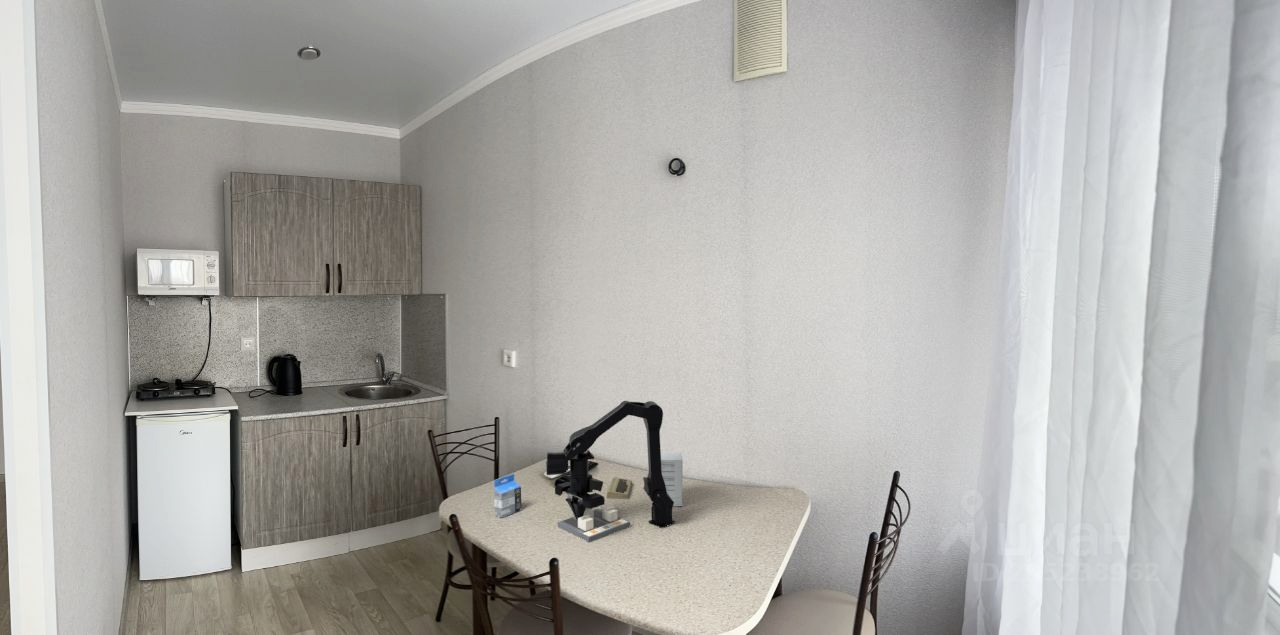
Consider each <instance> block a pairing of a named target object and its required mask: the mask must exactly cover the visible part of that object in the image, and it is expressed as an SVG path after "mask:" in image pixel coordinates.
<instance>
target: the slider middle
mask: <svg viewBox="0 0 1280 635" xmlns="http://www.w3.org/2000/svg"><path fill="white" fill-rule="evenodd" d="M594 510H595V509H594V508H592V509H589V508H586V509H585V512H584V515H583V516H585V515H588V514H589V515H590V518H592V519H594Z"/></svg>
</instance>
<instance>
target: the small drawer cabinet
mask: <svg viewBox="0 0 1280 635" xmlns="http://www.w3.org/2000/svg"><path fill="white" fill-rule="evenodd" d="M661 469H662V476H663V479H664V483H665V486H666V491H667V493H668V495H669V496H670V497H671V499H672V500H673V502H674V504H673V506H682V507H683V478H684V477H683V476H684V475H683V457H682V453H681V452H661Z"/></svg>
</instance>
